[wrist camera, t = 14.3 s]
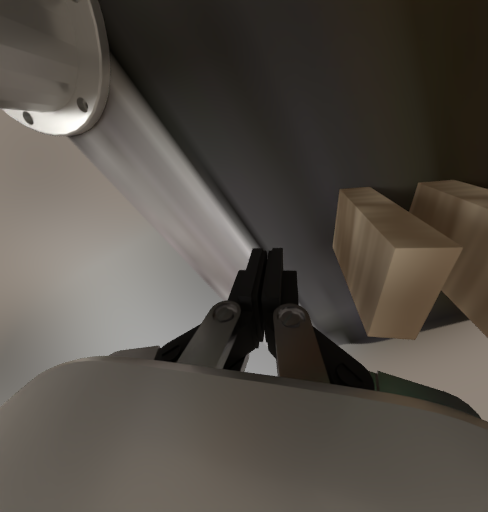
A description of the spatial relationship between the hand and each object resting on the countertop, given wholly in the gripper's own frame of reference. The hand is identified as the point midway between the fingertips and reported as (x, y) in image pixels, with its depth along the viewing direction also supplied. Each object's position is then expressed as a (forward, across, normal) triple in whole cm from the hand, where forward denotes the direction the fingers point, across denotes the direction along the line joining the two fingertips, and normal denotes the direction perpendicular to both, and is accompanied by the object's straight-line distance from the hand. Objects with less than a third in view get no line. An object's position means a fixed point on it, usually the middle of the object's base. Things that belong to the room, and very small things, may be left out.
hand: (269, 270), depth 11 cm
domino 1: (+7, -6, 0) cm, 9 cm away
